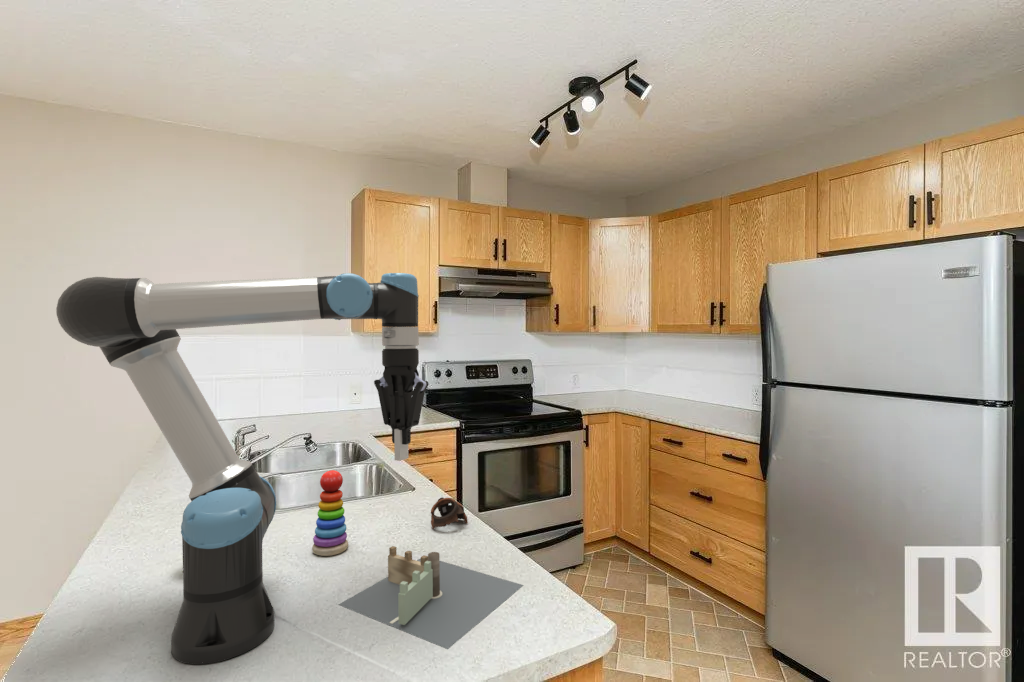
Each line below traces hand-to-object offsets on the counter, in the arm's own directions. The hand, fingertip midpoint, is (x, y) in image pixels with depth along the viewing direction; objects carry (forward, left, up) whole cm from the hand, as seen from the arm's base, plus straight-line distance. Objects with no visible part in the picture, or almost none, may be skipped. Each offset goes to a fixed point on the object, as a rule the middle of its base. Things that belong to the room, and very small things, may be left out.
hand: (401, 459), depth 108 cm
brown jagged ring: (+27, +9, -25) cm, 38 cm away
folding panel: (-10, -13, -23) cm, 29 cm away
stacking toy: (0, +23, -25) cm, 34 cm away
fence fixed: (-4, -7, -24) cm, 25 cm away
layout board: (-4, -12, -24) cm, 27 cm away
